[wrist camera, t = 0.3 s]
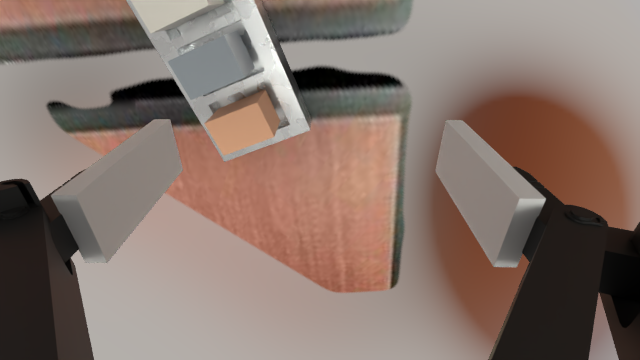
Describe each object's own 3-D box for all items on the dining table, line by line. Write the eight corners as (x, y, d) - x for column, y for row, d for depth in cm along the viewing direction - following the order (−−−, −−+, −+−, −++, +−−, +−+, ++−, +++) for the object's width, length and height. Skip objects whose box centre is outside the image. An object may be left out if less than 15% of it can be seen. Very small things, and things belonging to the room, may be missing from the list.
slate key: (187, 53, 34) (167, 61, 30) (237, 30, 33) (223, 35, 29) (206, 87, 36) (190, 100, 32) (255, 67, 35) (245, 77, 31)
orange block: (218, 108, 37) (204, 123, 33) (265, 89, 36) (257, 102, 32) (235, 138, 39) (223, 155, 35) (280, 120, 38) (274, 136, 34)
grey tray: (131, -25, 34) (109, -28, 31) (228, -78, 32) (216, -87, 28) (232, 148, 44) (224, 161, 41) (311, 118, 42) (310, 130, 39)
